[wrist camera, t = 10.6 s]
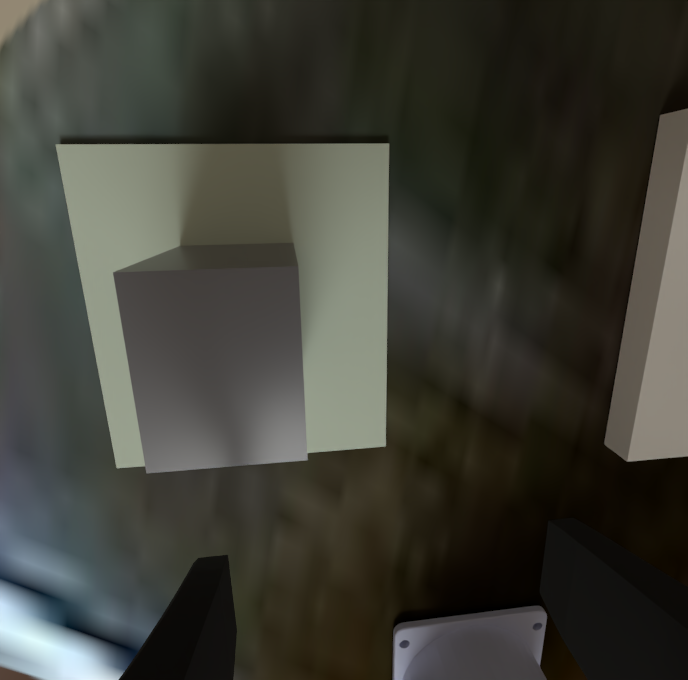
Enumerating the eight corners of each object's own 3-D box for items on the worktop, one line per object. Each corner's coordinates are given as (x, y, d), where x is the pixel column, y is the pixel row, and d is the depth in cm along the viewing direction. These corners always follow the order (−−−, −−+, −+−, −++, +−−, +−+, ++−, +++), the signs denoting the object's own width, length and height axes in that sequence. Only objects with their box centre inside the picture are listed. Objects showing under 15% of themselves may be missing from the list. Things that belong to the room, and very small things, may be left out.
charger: (299, 371, 18) (307, 460, 12) (195, 377, 17) (146, 473, 11) (293, 242, 16) (298, 266, 10) (179, 245, 16) (113, 272, 10)
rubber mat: (384, 442, 20) (385, 446, 19) (119, 464, 18) (116, 468, 18) (387, 144, 16) (389, 143, 16) (60, 145, 15) (55, 144, 15)
